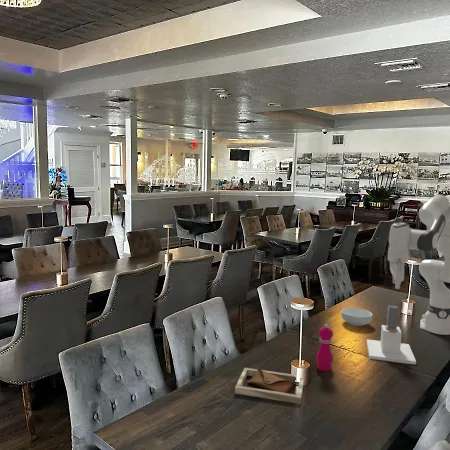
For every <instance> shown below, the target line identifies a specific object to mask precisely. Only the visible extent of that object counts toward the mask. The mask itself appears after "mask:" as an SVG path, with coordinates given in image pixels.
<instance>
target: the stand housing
mask: <svg viewBox="0 0 450 450" xmlns="http://www.w3.org/2000/svg"><path fill="white" fill-rule="evenodd" d="M386 325H387V324H386ZM386 325H384V324H381V327H380V328H381V329H380V340H377V339H376V340H375V339H368V338H367V339H366V340H365V341H366V347H367V354H368V358H369V359H370V360H379V361H383V362H384V361H386V362H391V363H392V362H393V363H401V364H407V365H409V364H410V365H417V361H416V358H415V356H414V353H413V351H412V349H411V348H412V347H411V346H410V344H408V343H402V334H403V333H402V331H401V328H400V326H397V331H391V330H386Z"/></svg>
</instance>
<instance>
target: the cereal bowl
mask: <svg viewBox="0 0 450 450" xmlns="http://www.w3.org/2000/svg"><path fill="white" fill-rule="evenodd" d="M340 313H341V319H342V320H343V321H344V322H346V323H347V324H349V325H351V326H354V327H362V326H364V325H365V326H366V325H369V324H370V323H371V321H373V313H372V312H371V311H369V310H367V309H364V308H358V307H347V308H343V309H341V312H340Z"/></svg>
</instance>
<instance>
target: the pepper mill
mask: <svg viewBox="0 0 450 450" xmlns="http://www.w3.org/2000/svg"><path fill="white" fill-rule="evenodd" d="M318 336H319V342H320V346H319V349H318V351H317V353H316V356H315V359H316V362H317V363H316V368H317V369H318V370H319V371H322V372H329V371H331V370H332V365H333V362H334V356H333V353H332V350H331V343H332V338H333V337H334V332H333V330H332V328H331V327H329V324H327V323H326V324H324V326H322V327H320V328H319V330H318Z"/></svg>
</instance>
